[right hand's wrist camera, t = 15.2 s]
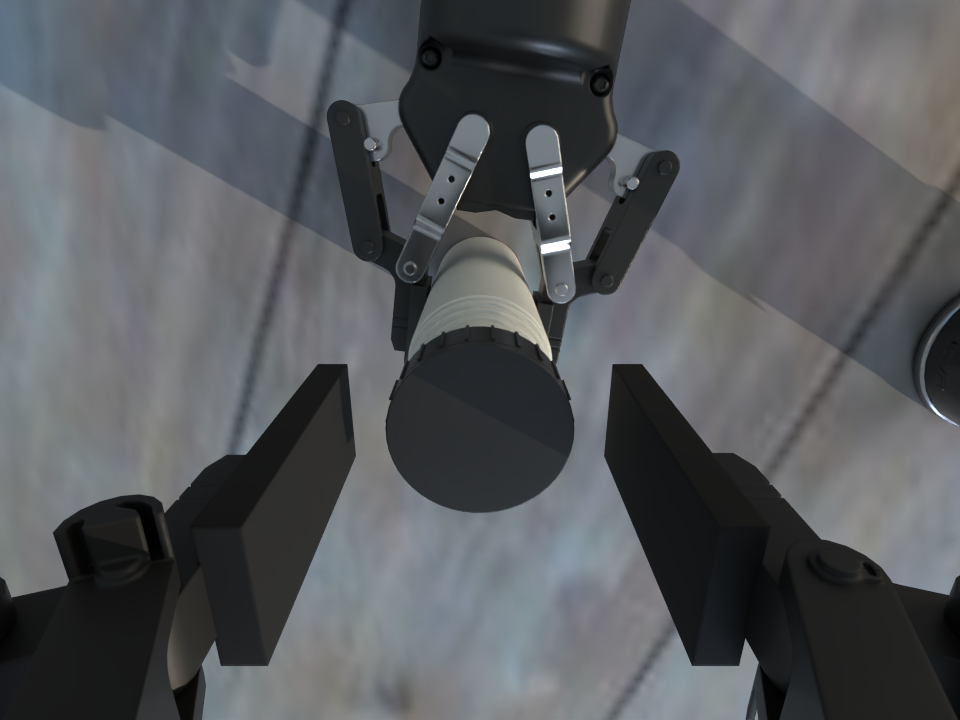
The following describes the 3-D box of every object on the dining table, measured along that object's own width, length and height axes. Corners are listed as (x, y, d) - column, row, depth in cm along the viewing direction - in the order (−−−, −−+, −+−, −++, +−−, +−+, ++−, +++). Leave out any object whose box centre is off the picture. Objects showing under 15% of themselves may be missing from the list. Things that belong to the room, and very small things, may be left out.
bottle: (515, 324, 31) (556, 512, 14) (434, 314, 31) (381, 494, 14) (528, 242, 29) (589, 348, 13) (442, 231, 29) (392, 325, 13)
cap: (566, 317, 14) (576, 336, 12) (568, 475, 15) (577, 509, 14) (382, 329, 14) (371, 349, 12) (404, 485, 15) (395, 520, 14)
